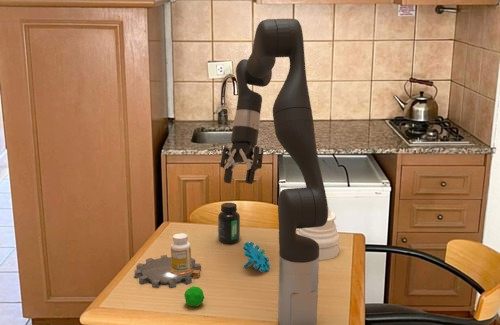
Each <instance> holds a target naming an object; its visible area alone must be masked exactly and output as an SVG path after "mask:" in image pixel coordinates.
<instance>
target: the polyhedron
mask: <svg viewBox="0 0 500 325" xmlns="http://www.w3.org/2000/svg"><path fill="white" fill-rule="evenodd" d="M204 295H205V294H204V290H203V289H202V288H201V287H199V286H193V285H192V286H190V287H189V288H188V289H186V290H185V292H184V300H185V303H186V305H188V306H189V307H195V308H196V307H198V306H200V305H201V304H203V302H204V300H205V296H204Z"/></svg>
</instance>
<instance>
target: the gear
mask: <svg viewBox="0 0 500 325" xmlns="http://www.w3.org/2000/svg"><path fill="white" fill-rule="evenodd" d="M242 249H243V250H244V253H243V254H244V256H245V257H248V259H247V262H246V263H244V264H243V267H244V268H245V269H246V268H248V267H249V266H250V265H251V264H253V266H252V267H253V268H254V269H255V270H257V269H259V271H260V272H261V273H264V272H268V271H269V270H270V267H271V264H270V262H269V261H270V259H269V257H268V256H266V249H265V248H262V249H261V247H260V245H258V244H256V245H255V244H254V242H253V241H250V242H249V241H245V242H244V246H242ZM260 249H261V250H260Z"/></svg>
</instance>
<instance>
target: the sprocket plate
mask: <svg viewBox="0 0 500 325" xmlns="http://www.w3.org/2000/svg"><path fill="white" fill-rule="evenodd" d="M135 268H136V269H135V270H134V278H135V279H138V282H139V283H140V284H141V285H145V284H148V283H150V284H151V287H152V288H160V287H161V286H168V287H169V288H170V289H171V288H177V285H178V284H182V283H183V284H185V285H189V284H192V283H193V278H195V279H199V278H200V277H201V271H202V265H201V263H196V259H195V258H192V257H191V269H190V270H188V271H186V272H176V271H174V270H173V269H172V260H171V256H169V257H168V255H167V254H166V255H165V254H164V255H160V258H155V259H154V258H152V257H150V258H146V259H145V263H140V262H139V263H138V264H137V265H136V267H135Z"/></svg>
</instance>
